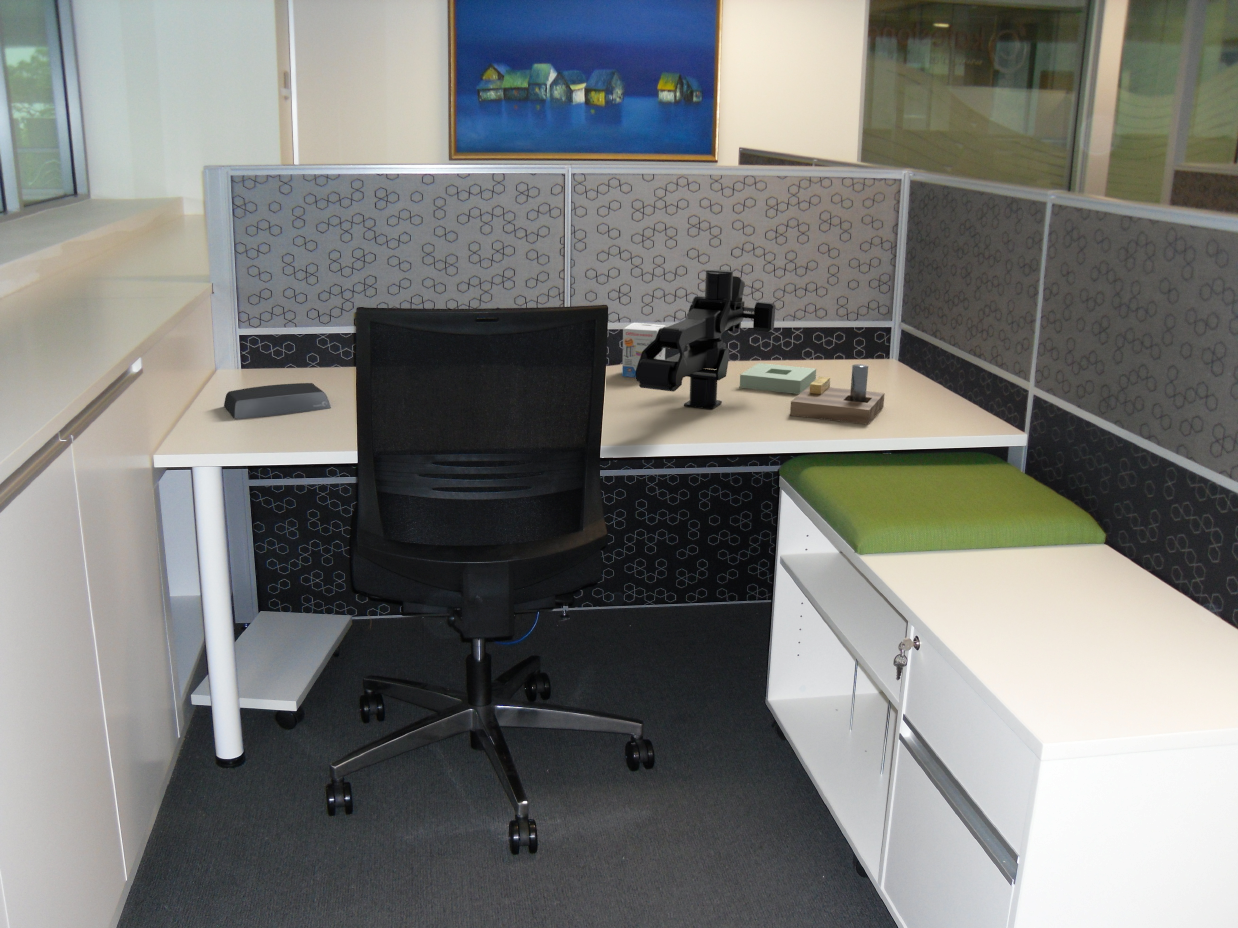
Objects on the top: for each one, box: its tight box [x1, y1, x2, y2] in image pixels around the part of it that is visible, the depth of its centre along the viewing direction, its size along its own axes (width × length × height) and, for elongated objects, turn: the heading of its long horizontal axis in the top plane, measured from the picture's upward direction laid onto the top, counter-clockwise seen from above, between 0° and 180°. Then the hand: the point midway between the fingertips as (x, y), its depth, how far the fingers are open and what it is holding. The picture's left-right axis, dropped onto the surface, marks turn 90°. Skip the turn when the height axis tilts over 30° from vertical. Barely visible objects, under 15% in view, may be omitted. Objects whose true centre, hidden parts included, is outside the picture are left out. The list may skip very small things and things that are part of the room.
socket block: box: [789, 386, 886, 425], centre depth 221 cm, size 16×16×3 cm
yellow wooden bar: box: [809, 376, 831, 395], centre depth 226 cm, size 8×2×2 cm, turn 156°
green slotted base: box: [739, 362, 817, 395], centre depth 244 cm, size 14×14×3 cm
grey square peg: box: [850, 363, 869, 403], centre depth 219 cm, size 3×3×10 cm
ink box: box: [621, 322, 667, 378], centre depth 252 cm, size 9×8×12 cm
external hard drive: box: [223, 382, 332, 420], centre depth 220 cm, size 13×19×4 cm
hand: (744, 309), depth 242 cm, fingers open, 9 cm apart
